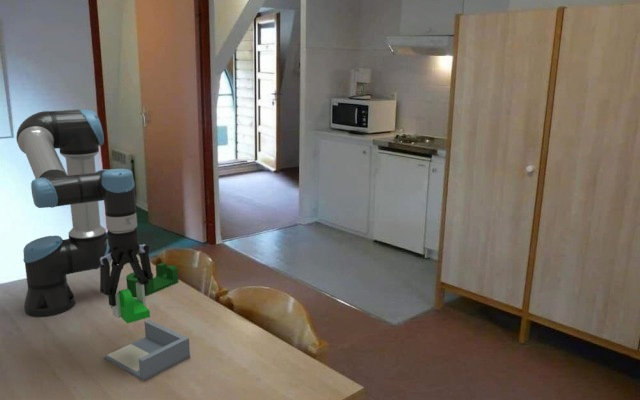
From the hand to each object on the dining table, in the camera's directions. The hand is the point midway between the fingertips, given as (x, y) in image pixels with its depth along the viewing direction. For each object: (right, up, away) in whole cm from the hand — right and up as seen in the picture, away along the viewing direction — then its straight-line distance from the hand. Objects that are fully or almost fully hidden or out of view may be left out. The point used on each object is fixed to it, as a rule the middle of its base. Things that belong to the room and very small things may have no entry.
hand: (129, 310), depth 146 cm
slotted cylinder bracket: (-10, -3, +52) cm, 53 cm away
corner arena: (+3, -14, +5) cm, 15 cm away
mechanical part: (0, 0, 0) cm, 1 cm away
